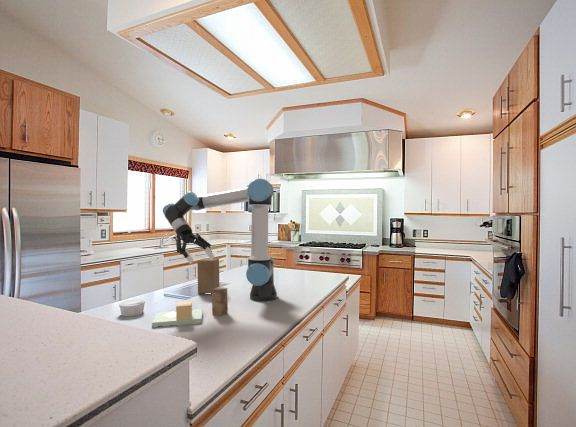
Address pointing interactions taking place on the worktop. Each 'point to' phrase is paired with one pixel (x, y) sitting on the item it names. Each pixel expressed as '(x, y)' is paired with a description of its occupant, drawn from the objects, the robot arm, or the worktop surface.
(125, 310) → the ramekin
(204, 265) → the block
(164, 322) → the board
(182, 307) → the cube
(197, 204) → the robot arm
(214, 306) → the pillar
